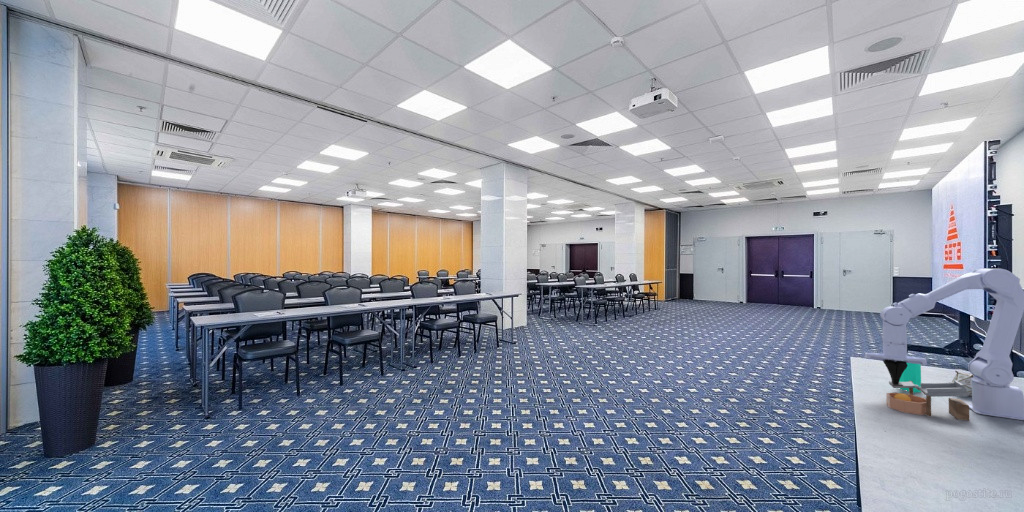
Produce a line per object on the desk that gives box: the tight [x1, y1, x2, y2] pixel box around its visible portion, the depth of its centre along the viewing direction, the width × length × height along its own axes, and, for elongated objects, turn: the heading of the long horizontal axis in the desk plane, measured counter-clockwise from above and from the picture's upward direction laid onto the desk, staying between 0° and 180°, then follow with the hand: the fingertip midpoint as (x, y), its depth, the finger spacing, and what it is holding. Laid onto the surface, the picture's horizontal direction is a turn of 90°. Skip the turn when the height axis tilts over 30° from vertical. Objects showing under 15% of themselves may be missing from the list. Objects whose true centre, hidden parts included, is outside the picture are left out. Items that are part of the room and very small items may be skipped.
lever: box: [888, 380, 969, 398], centre depth 120 cm, size 14×15×3 cm
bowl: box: [885, 392, 927, 416], centre depth 119 cm, size 9×9×4 cm
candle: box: [899, 360, 922, 393], centre depth 137 cm, size 6×6×12 cm
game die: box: [948, 370, 973, 396], centre depth 130 cm, size 9×8×10 cm
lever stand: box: [908, 381, 970, 421], centre depth 118 cm, size 9×17×6 cm, turn 146°
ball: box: [894, 392, 912, 402], centre depth 120 cm, size 4×4×4 cm
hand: (895, 383), depth 127 cm, fingers closed, pressing on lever
